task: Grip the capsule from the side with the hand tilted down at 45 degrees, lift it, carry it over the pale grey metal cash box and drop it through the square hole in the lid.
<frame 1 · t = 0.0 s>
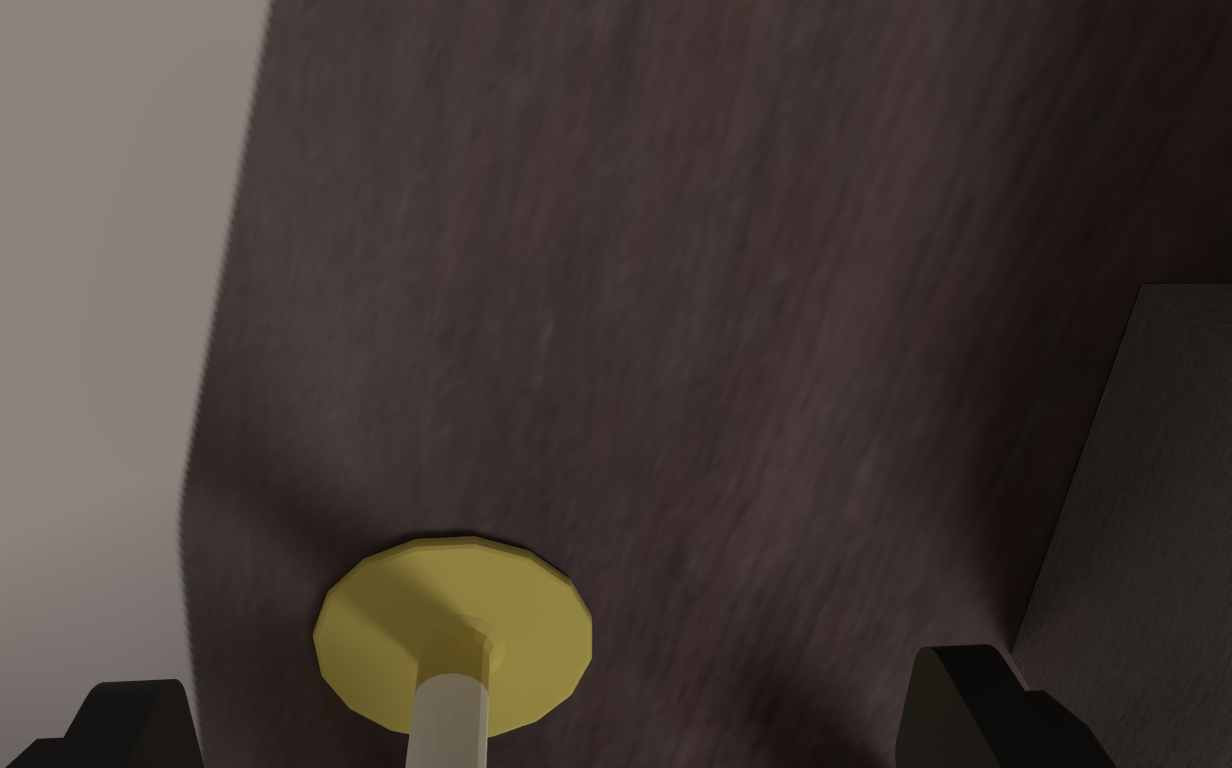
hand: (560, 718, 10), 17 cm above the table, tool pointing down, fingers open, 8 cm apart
candle: (456, 638, 33), on the table
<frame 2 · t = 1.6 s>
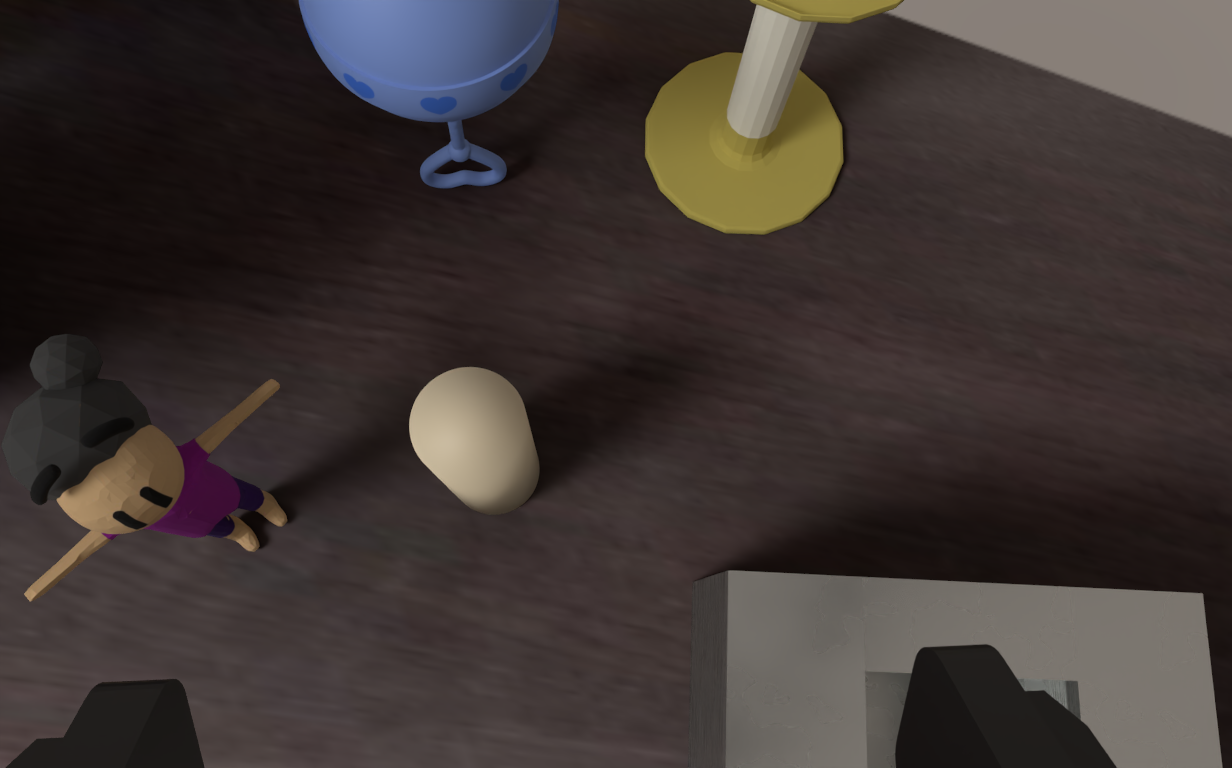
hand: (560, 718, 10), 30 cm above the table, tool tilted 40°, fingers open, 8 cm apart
cashbox: (877, 748, 38), on the table
candle: (743, 144, 46), on the table
baby rattle: (476, 184, 45), on the table
toy: (242, 502, 40), on the table
capsule: (494, 469, 41), on the table
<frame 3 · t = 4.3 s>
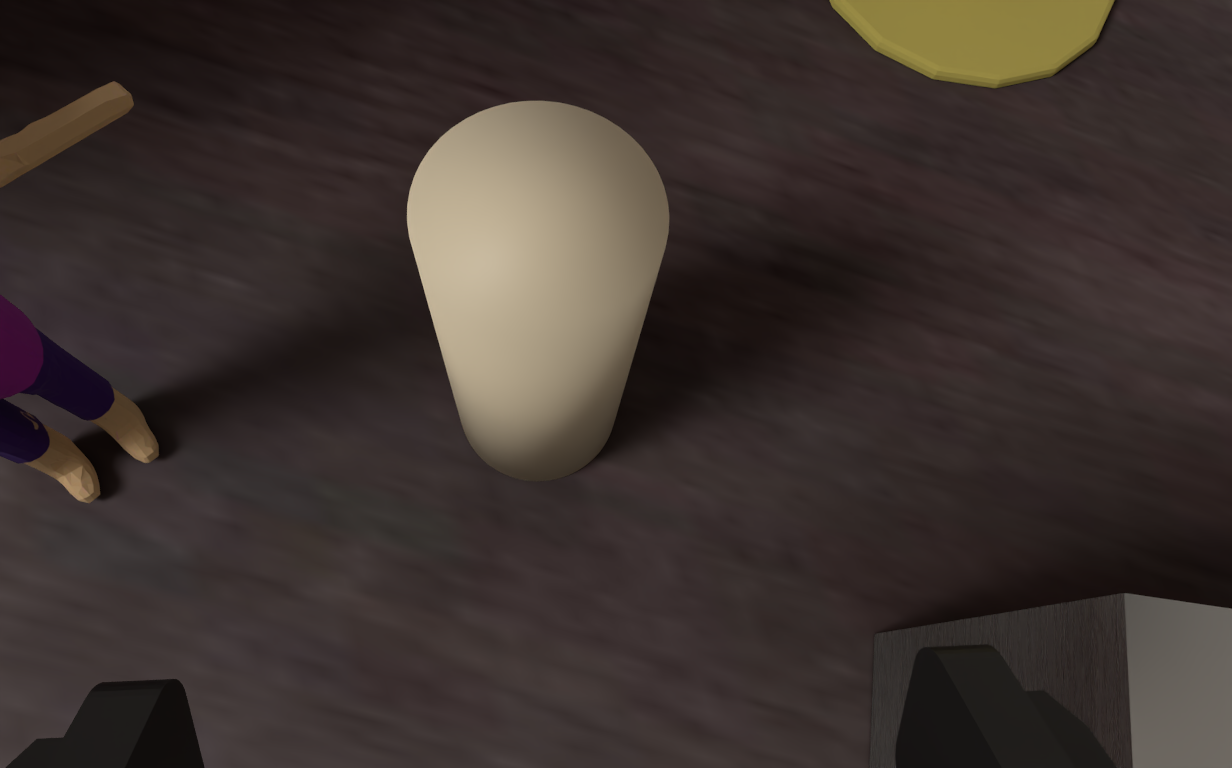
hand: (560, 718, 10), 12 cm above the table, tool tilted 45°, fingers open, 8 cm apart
toy: (84, 416, 23), on the table
capsule: (538, 404, 23), on the table
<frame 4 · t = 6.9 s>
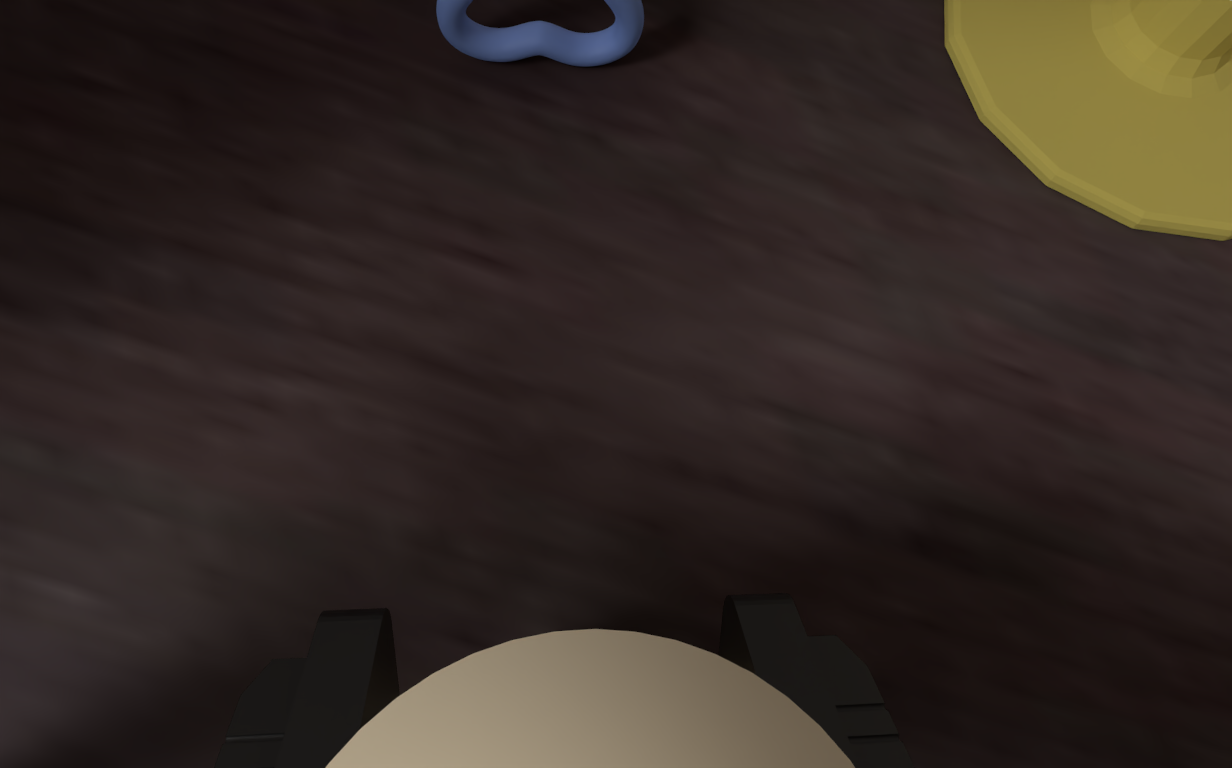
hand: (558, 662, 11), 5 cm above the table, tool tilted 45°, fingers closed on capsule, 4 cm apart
candle: (1152, 46, 21), on the table
baby rattle: (563, 64, 19), on the table
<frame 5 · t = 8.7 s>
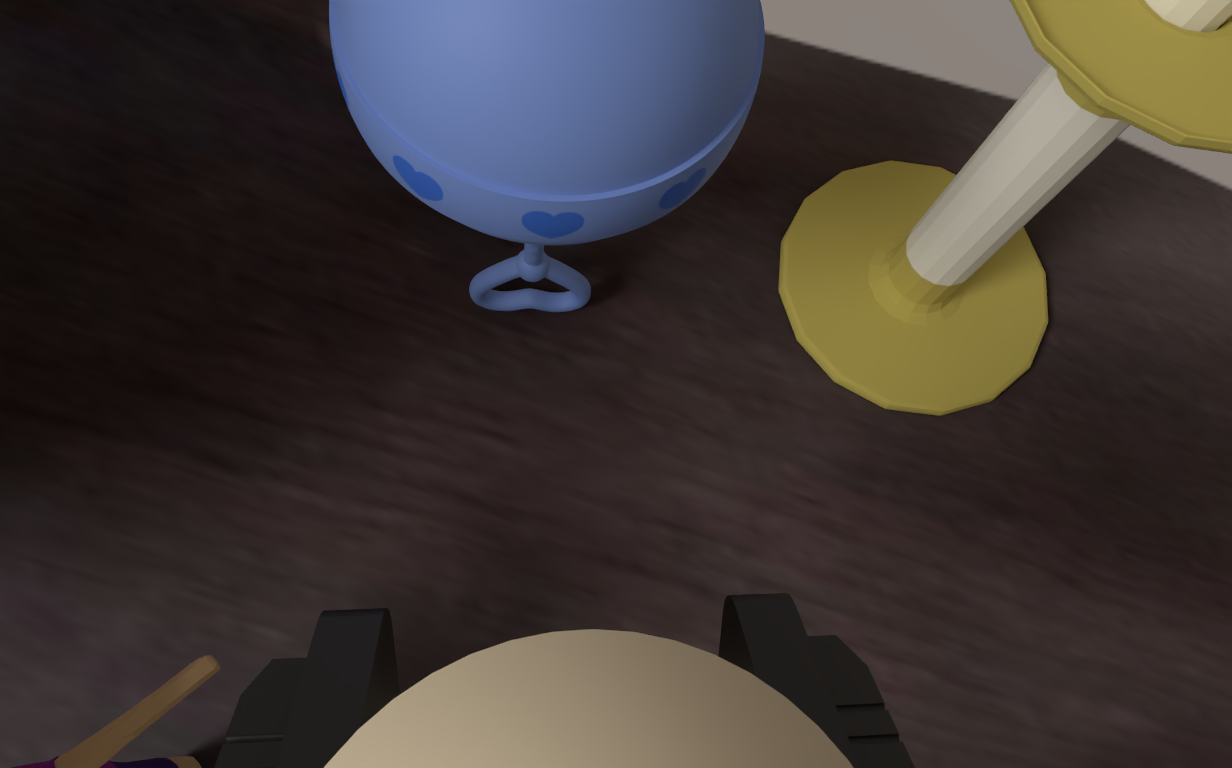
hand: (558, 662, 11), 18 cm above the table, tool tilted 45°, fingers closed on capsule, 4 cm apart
candle: (910, 286, 33), on the table
baby rattle: (544, 307, 32), on the table
toy: (150, 766, 26), on the table
when the fingers open (15 cm above the table, at t = 10.7 s): capsule drops 10 cm, resting on cashbox.
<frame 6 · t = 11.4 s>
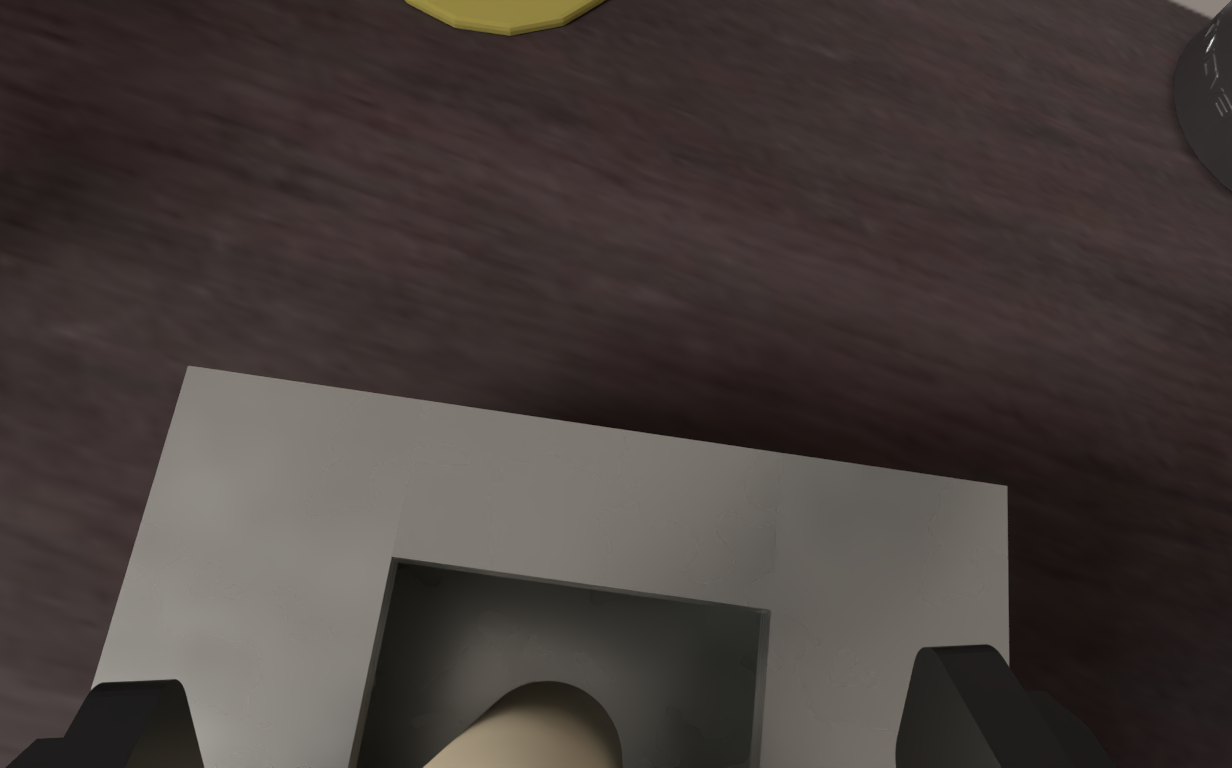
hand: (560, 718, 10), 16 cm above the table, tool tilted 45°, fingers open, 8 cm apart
cashbox: (547, 751, 25), on the table
capsule: (546, 760, 24), point 1 cm above the table, tilted 7°, touching cashbox
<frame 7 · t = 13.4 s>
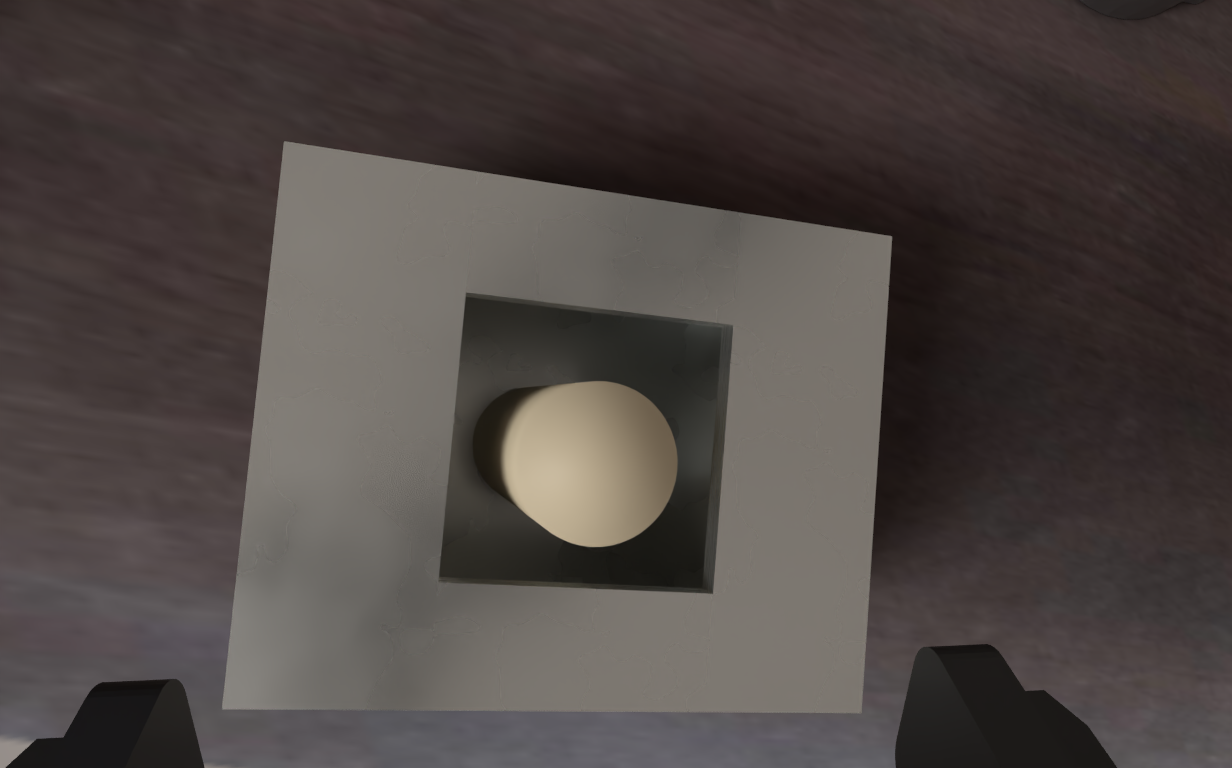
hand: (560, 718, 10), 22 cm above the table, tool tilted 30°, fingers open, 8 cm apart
cashbox: (527, 440, 33), on the table
capsule: (530, 444, 32), point 1 cm above the table, touching cashbox
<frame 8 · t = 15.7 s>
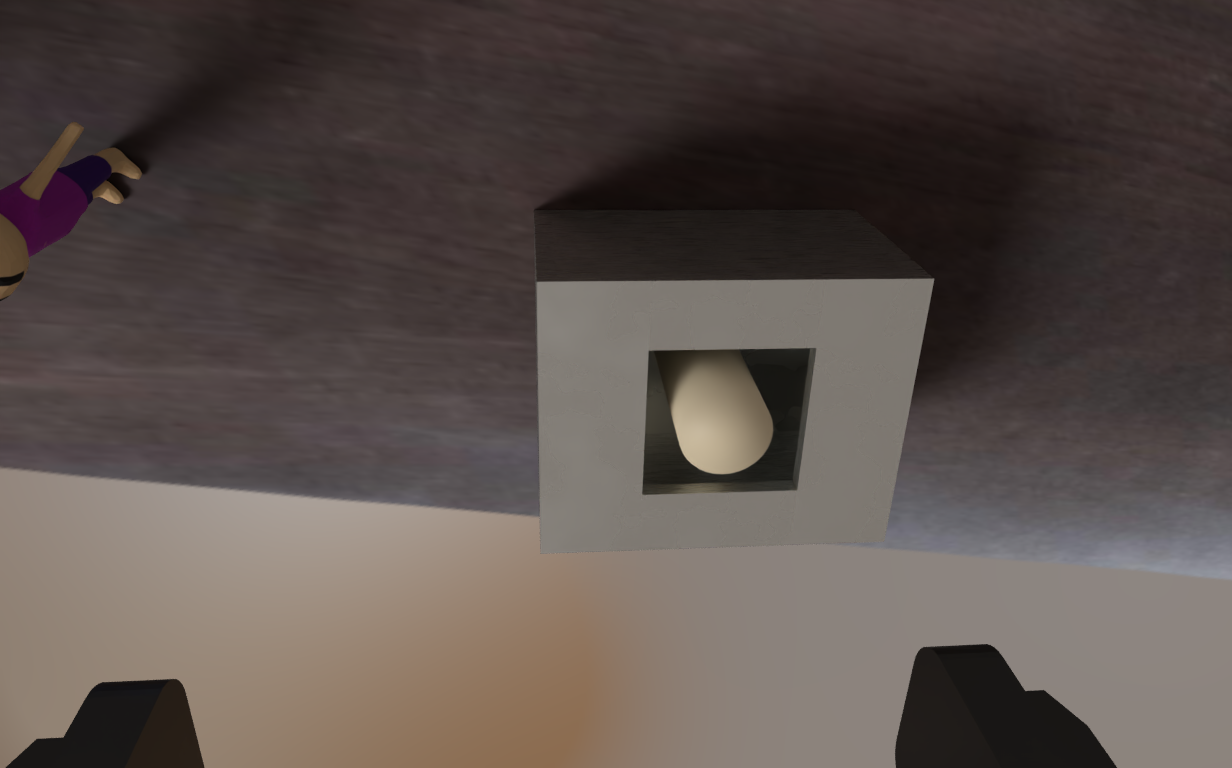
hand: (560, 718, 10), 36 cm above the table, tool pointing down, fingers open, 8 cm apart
cashbox: (688, 331, 48), on the table
toy: (91, 155, 41), on the table
capsule: (690, 340, 47), point 1 cm above the table, touching cashbox
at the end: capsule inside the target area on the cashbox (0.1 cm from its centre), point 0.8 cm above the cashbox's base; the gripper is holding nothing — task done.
